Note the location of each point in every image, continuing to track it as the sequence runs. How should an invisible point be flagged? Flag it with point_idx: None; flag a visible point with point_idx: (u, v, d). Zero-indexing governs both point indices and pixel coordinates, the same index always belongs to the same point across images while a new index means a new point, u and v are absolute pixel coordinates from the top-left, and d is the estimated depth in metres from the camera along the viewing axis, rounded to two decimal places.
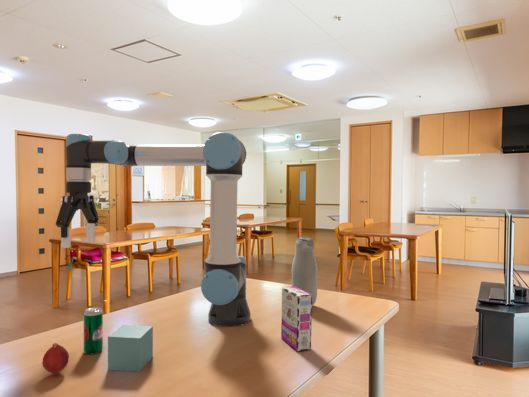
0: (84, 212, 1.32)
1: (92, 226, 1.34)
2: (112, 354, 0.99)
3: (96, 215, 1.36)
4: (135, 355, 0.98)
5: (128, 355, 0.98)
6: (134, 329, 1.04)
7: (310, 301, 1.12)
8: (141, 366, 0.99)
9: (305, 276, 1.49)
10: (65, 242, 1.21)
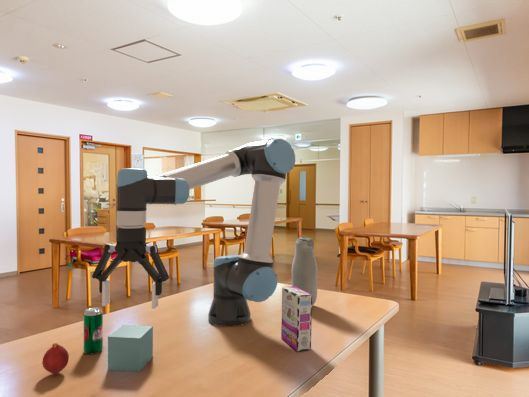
0: None
1: None
2: (112, 354, 0.99)
3: (160, 273, 1.00)
4: (135, 355, 0.98)
5: (128, 355, 0.98)
6: (134, 329, 1.04)
7: (310, 301, 1.12)
8: (141, 366, 0.99)
9: (305, 276, 1.49)
10: None
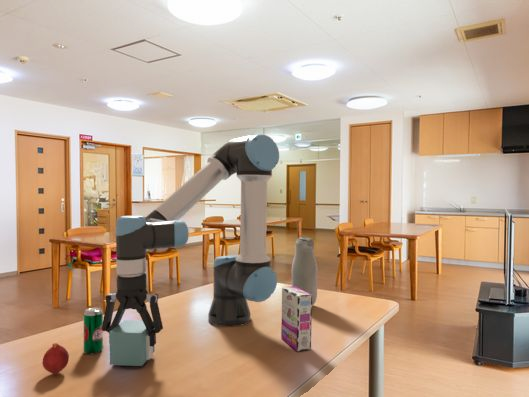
0: None
1: None
2: (114, 349, 0.99)
3: (155, 325, 1.01)
4: (137, 350, 0.98)
5: (130, 350, 0.99)
6: (135, 324, 1.04)
7: (310, 301, 1.12)
8: (143, 361, 0.99)
9: (305, 276, 1.49)
10: None
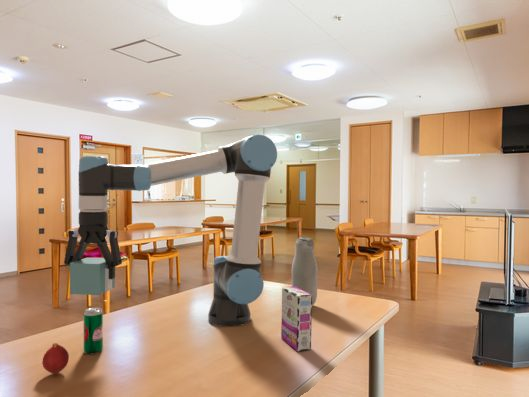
0: None
1: None
2: (74, 279, 1.05)
3: (114, 258, 1.08)
4: (95, 280, 1.05)
5: (89, 280, 1.05)
6: (96, 259, 1.11)
7: (310, 301, 1.12)
8: (101, 291, 1.06)
9: (305, 276, 1.49)
10: None
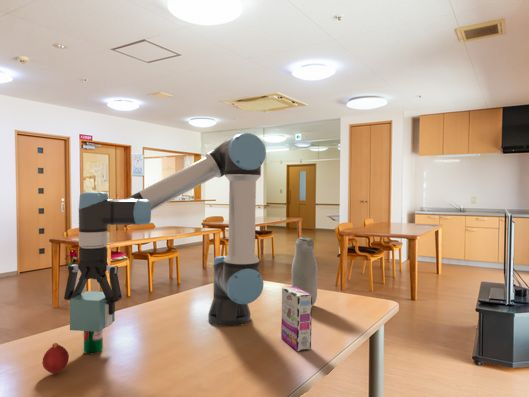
0: None
1: None
2: (74, 316, 1.06)
3: (114, 294, 1.08)
4: (95, 316, 1.05)
5: (89, 316, 1.05)
6: (96, 294, 1.11)
7: (310, 301, 1.12)
8: (101, 327, 1.06)
9: (305, 276, 1.49)
10: None
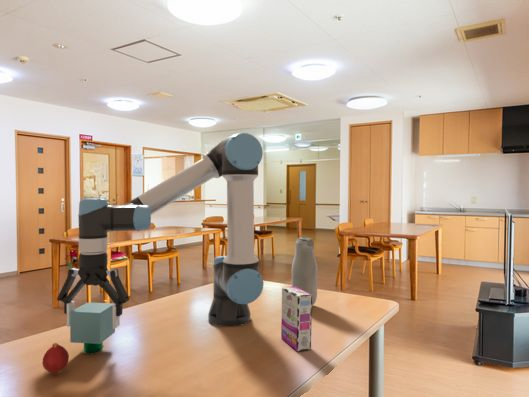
0: None
1: None
2: (74, 328, 1.06)
3: (120, 296, 1.08)
4: (95, 329, 1.05)
5: (89, 329, 1.05)
6: (96, 306, 1.11)
7: (310, 301, 1.12)
8: (101, 339, 1.06)
9: (305, 276, 1.49)
10: None
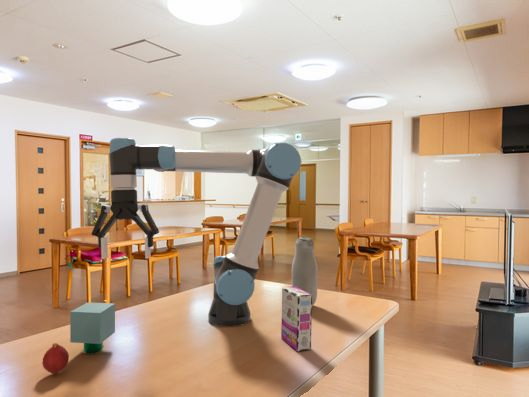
0: None
1: None
2: (74, 328, 1.06)
3: (151, 228, 1.16)
4: (96, 329, 1.05)
5: (89, 329, 1.05)
6: (97, 306, 1.11)
7: (310, 301, 1.12)
8: (101, 339, 1.06)
9: (305, 276, 1.49)
10: None
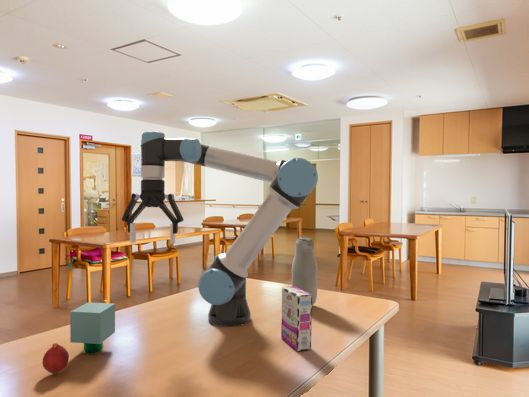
0: None
1: None
2: (74, 328, 1.06)
3: (177, 216, 1.25)
4: (96, 329, 1.05)
5: (89, 329, 1.05)
6: (97, 306, 1.11)
7: (310, 301, 1.12)
8: (101, 339, 1.06)
9: (305, 276, 1.49)
10: None
